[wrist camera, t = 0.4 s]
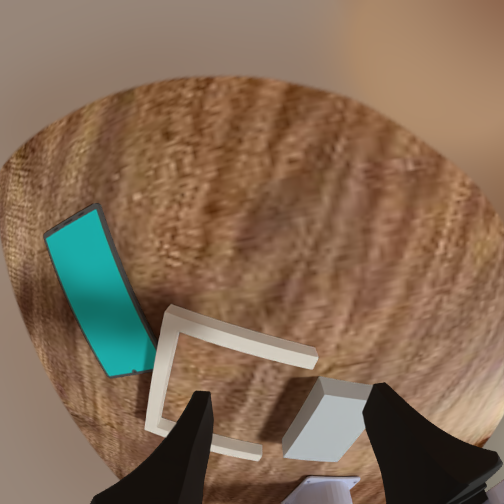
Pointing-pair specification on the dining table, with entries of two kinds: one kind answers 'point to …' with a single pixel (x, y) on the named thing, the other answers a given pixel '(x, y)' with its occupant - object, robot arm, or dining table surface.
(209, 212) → the dining table surface
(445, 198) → the dining table surface
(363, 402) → the light gray box
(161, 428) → the cream u-shaped bracket
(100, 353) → the smartphone
